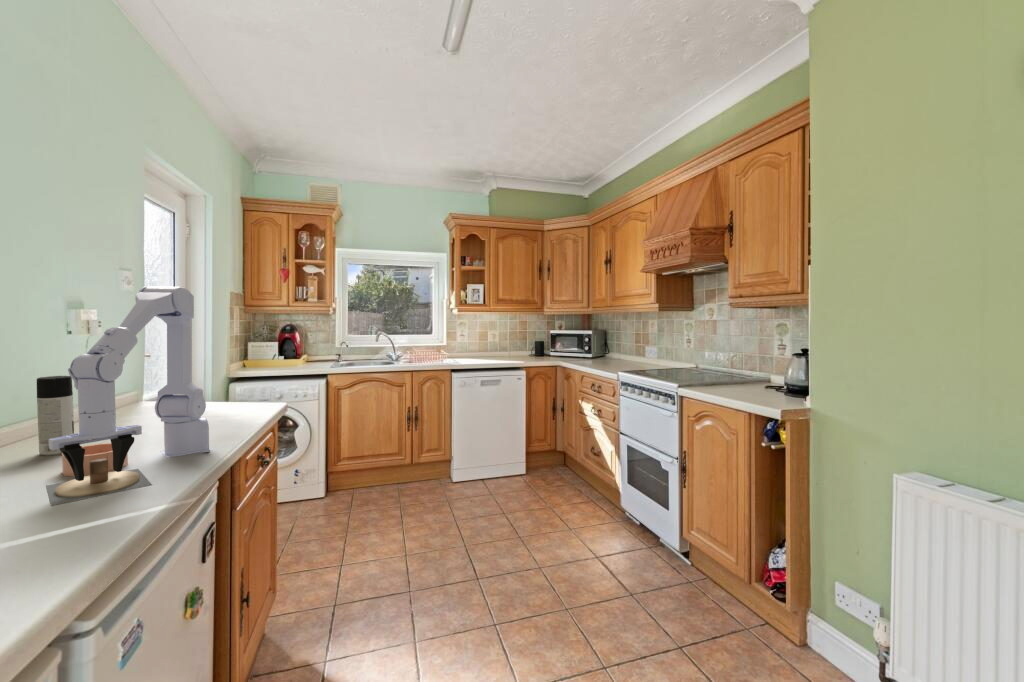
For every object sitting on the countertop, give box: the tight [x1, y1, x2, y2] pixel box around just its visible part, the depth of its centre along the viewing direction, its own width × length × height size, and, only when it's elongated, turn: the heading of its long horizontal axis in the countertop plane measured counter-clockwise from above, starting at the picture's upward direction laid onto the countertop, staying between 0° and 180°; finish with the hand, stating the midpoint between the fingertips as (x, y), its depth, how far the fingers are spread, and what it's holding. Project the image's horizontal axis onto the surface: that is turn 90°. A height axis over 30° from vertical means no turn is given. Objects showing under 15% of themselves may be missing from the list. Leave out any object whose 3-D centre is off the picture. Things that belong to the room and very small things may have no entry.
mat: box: [45, 468, 153, 507], centre depth 95 cm, size 15×15×1 cm
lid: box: [55, 459, 139, 497], centre depth 95 cm, size 13×13×5 cm
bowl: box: [61, 442, 129, 478], centre depth 106 cm, size 11×11×5 cm
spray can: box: [36, 375, 75, 456], centre depth 119 cm, size 7×7×20 cm
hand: (99, 475), depth 95 cm, fingers open, 6 cm apart
